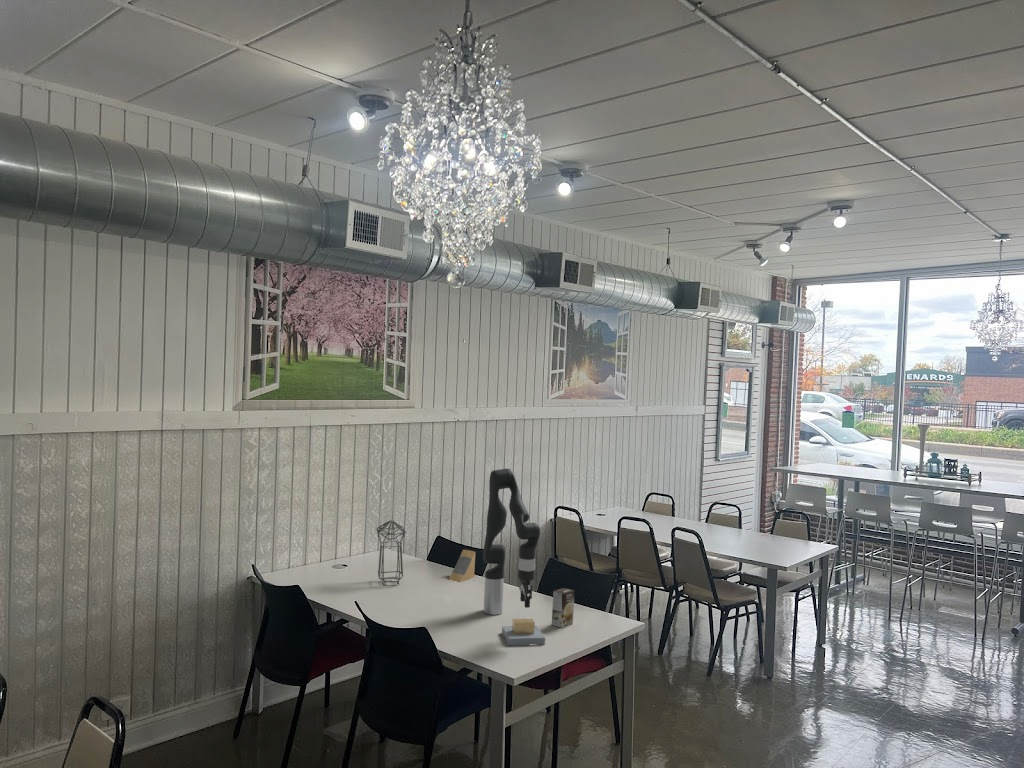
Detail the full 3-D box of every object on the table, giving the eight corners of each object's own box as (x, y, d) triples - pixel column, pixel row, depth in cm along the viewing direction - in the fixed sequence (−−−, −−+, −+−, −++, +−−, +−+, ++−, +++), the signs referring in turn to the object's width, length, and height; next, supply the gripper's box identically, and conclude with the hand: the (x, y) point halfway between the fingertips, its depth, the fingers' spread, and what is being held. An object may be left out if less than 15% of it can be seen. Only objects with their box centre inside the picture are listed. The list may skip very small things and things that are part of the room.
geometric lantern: (405, 587, 401) (407, 522, 401) (376, 588, 397) (377, 523, 397) (402, 578, 417) (404, 517, 416) (374, 580, 413) (375, 517, 412)
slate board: (502, 632, 334) (502, 626, 334) (536, 632, 338) (536, 625, 338) (508, 645, 319) (509, 638, 319) (544, 644, 322) (545, 637, 322)
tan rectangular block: (512, 630, 330) (512, 619, 330) (531, 629, 332) (532, 618, 332) (514, 634, 325) (514, 622, 325) (534, 633, 327) (534, 622, 327)
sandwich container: (447, 580, 419) (448, 554, 419) (461, 574, 432) (462, 549, 432) (460, 582, 415) (461, 556, 415) (474, 577, 428) (475, 551, 428)
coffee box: (562, 628, 345) (563, 593, 345) (551, 624, 349) (552, 590, 349) (573, 623, 352) (574, 590, 352) (562, 620, 356) (563, 587, 356)
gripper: (515, 563, 334) (513, 599, 335) (521, 572, 320) (520, 609, 321) (531, 563, 336) (529, 599, 336) (538, 572, 322) (536, 609, 322)
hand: (524, 604), depth 328 cm, fingers open, 8 cm apart
